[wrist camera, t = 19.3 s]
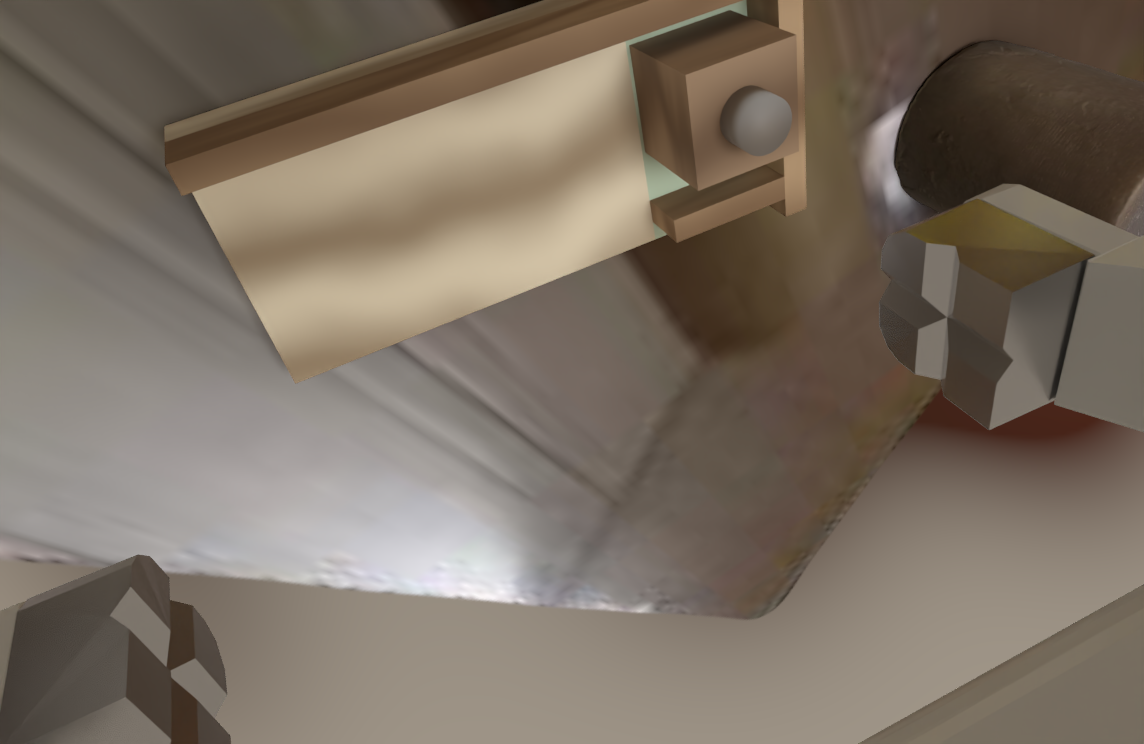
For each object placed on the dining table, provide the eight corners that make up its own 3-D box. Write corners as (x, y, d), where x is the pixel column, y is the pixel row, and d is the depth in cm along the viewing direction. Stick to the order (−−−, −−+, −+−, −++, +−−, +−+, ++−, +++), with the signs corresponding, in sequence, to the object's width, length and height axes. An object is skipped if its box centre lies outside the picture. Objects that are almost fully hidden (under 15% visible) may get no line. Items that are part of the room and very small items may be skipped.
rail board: (164, 126, 32) (165, 165, 29) (742, -66, 37) (801, -52, 33) (290, 361, 40) (302, 414, 36) (756, 176, 44) (806, 208, 41)
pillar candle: (865, 175, 47) (1089, 297, 36) (967, 7, 44) (1252, 85, 32) (959, 221, 53) (1180, 340, 41) (1057, 75, 49) (1329, 162, 38)
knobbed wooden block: (629, 45, 35) (705, 85, 31) (730, 9, 36) (819, 43, 31) (645, 152, 39) (716, 204, 34) (737, 117, 40) (820, 162, 35)
